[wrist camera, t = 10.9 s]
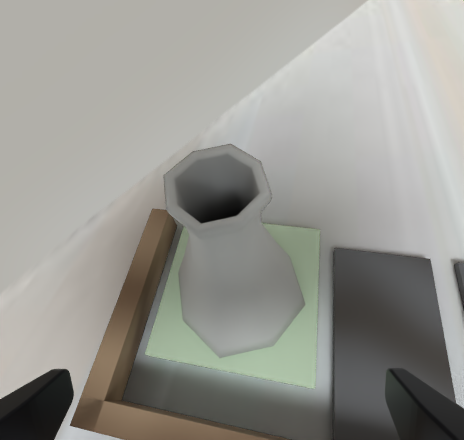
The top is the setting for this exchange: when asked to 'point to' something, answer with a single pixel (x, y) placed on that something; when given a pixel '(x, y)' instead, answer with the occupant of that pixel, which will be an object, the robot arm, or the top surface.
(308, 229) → the pad
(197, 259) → the flask
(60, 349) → the top surface
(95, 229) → the top surface
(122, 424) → the box
